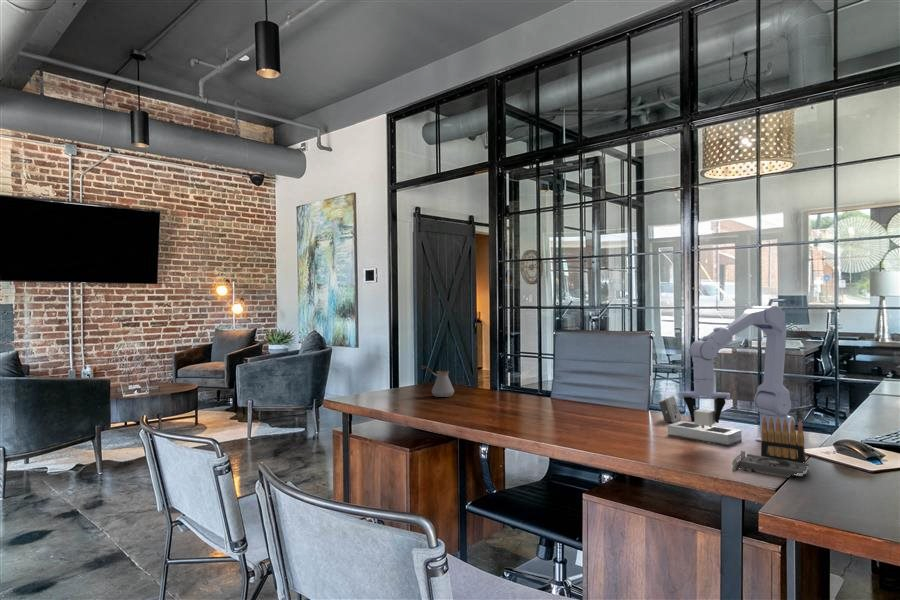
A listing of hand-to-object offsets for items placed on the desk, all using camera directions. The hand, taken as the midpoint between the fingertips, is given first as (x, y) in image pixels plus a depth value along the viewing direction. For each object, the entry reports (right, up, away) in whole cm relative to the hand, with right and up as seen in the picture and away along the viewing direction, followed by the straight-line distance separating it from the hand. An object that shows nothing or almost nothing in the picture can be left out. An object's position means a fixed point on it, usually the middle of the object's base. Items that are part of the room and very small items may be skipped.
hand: (704, 421), depth 171 cm
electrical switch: (+5, -8, +38) cm, 39 cm away
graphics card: (+5, -8, -27) cm, 28 cm away
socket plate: (+4, -8, +10) cm, 14 cm away
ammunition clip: (+14, -8, -17) cm, 23 cm away
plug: (0, -2, 0) cm, 2 cm away
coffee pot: (-88, -11, +105) cm, 137 cm away
